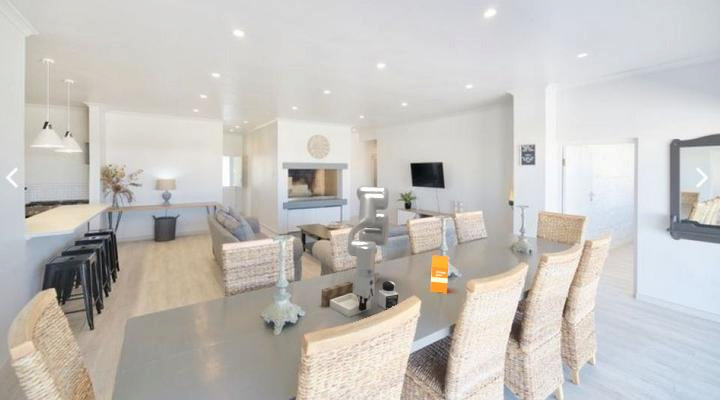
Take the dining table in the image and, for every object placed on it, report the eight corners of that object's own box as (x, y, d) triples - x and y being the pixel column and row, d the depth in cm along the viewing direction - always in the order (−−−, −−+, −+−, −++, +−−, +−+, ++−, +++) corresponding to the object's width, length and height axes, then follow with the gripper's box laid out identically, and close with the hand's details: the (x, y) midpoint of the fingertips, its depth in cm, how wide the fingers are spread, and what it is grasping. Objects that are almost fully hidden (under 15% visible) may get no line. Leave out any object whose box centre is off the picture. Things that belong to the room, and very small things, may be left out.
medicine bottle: (385, 310, 156) (386, 286, 155) (378, 304, 162) (378, 281, 161) (397, 307, 159) (399, 283, 158) (390, 302, 166) (391, 279, 164)
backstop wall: (348, 296, 171) (349, 281, 170) (352, 297, 169) (352, 283, 168) (321, 305, 159) (321, 289, 158) (325, 307, 157) (325, 291, 156)
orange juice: (446, 293, 180) (449, 258, 178) (430, 291, 181) (432, 257, 179) (446, 288, 187) (448, 254, 185) (430, 286, 189) (432, 253, 187)
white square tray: (350, 299, 167) (351, 292, 167) (370, 308, 157) (370, 301, 157) (329, 306, 157) (329, 299, 157) (348, 317, 147) (349, 309, 147)
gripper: (381, 274, 146) (379, 313, 148) (358, 266, 157) (357, 302, 159) (370, 277, 141) (368, 317, 143) (347, 269, 152) (345, 306, 153)
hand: (362, 309), depth 151 cm, fingers closed
